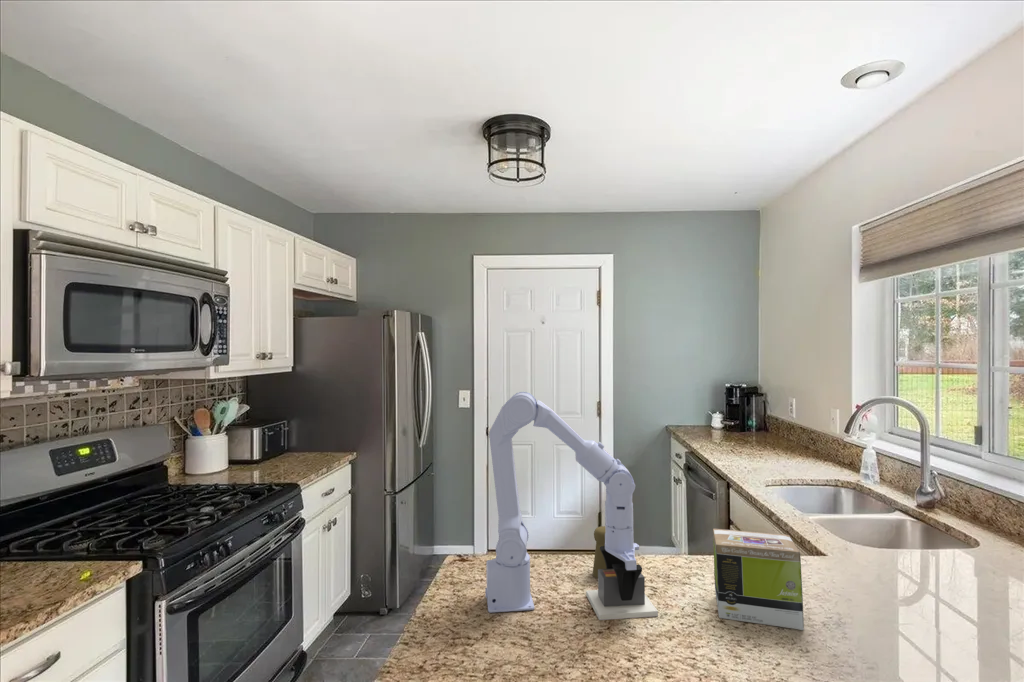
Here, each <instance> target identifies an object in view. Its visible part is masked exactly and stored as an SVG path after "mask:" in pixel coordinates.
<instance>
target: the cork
mask: <svg viewBox="0 0 1024 682" xmlns="http://www.w3.org/2000/svg"><path fill="white" fill-rule="evenodd" d="M593 539H594V540H595V551H594V559H593V560H594V561H593V567H592V576H593V578H595V579H597V580H598V569H607V568H606V564H605V560H604V557H603V555H602V553H601V551H600V547H601V546H605V525H603V526H601V525H600V526H598V527H596V528H595V529H594V532H593Z"/></svg>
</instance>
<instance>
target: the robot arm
mask: <svg viewBox="0 0 1024 682" xmlns="http://www.w3.org/2000/svg"><path fill="white" fill-rule="evenodd" d="M531 422H533V427H536V428H544V429H548V430H549V431H550V432H551V433H552V434H554V435H555V436H556V437H557V438H558V439H559V440H561V441H562V442H563V443H564V444H566V446H568V447H569V448H570V449H571V450H573V451H574V452H575V461H576V462H577V463H578V464H579V465H580V466H581V467H582V468H584V469H585V470H586V471H587V472H588V473H589V475H591V476H592V477H593V478H595V479H596V480H597V481H598V482H602V483H603V485H604V486H605V501H604V510H605V511H604V515H605V516H604V519H605V525H604V526H605V546H601V547H600V551H601V553H602V555H603V557H604V560H605V564H606V568H607V569H614V571H615V573H616V576H617V580H618V586H619V593H620V597H621V600H622V601H627V600H632V598H633V593H634V589H635V585H636V582H637V579H638V577H639V575H640V574H641V573H643V567H642V565H640V564H637V563H638V562H637V559H636V555H635V553H636V551H638V550H640V545H639V544H638V543H636V542H634V540H635V539H634V538H635V537H634V503H633V493H635V489H636V483H635V481H634V477H633V476H632V474H631V472H630V471H629V469H628V468H626V466H625V465H624V464H623V463H622V461H621V460H620V459H619V458H616V459H615V457H614V456H613V455H611V454H610V453H608V452H607V451H606V450H605V445H604V444H603V443H602V442H601V441H598V442H596V441H595V440H594V439H584V438H583V437H581V436H580V434H578V432H577V431H575V430H574V429H573V428H572V427H571V426H570V425H569V424H568V423H567V422H566V421H565V420H564V419H563V418H562V417H560V415H558V413H556V411H554V410H553V409H552V408H551V407H549V406H548V405H546V404H545V403H544V402H543V401H541V400H540V399H536V397H535V396H534V395H533V394H532V393H530V392H527V391H519V392H516V393H515V394H513V395H512V396H511V397H510V398H509V399H508V400H507V401H506V402H505V403H504V404H503V406H501V408H500V410H499V412H498V415H497V416H496V418H495V419H494V422H493V424H492V425H491V427H490V429H489V431H488V432H489V433H488V435H489V436H488V437H489V445H490V446H489V447H490V453H491V455H490V456H491V461H492V462H491V463H492V473H493V479H494V486H495V487H494V489H495V498H496V505H497V507H496V508H497V514H498V523H497V525H498V526H497V527H498V529H497V532H498V540H497V542H496V543H497V544H496V547H495V555H496V556H495V558H493V559H488V560H486V565H485V566H486V567H485V569H486V573H485V574H486V576H485V577H486V587H485V589H484V590H485V598H486V602H487V612H488V613H490V614H491V613H501V612H502V613H503V612H504V613H506V612H519V611H520V612H521V611H533V610H535V603H534V601H533V597H532V593H531V561H530V560H531V555H530V554H529V553H528V552H527V551H528V549H527V544H528V540H529V530H528V528H527V526H526V525H525V524H524V521H523V514H522V512H521V505H520V498H519V487H518V482H517V481H518V480H517V472H516V465H515V464H516V463H515V455H514V448H513V440H512V439H513V437H515V435H516V434H517V433H518V432H519V430H521V429H522V428H524V427H526V426H527V425H529V424H530V423H531Z"/></svg>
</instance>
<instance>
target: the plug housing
mask: <svg viewBox="0 0 1024 682" xmlns="http://www.w3.org/2000/svg"><path fill="white" fill-rule="evenodd" d="M645 582H646V581H645V576H644V575H643V572H641V574H640V575H639V577H638V579H637V582H636V585H635V589H634V593H633V598H632V600H627V601H622V600H621V597H620V593H619V586H618V580H617V576H616V573H615V571H614V569H598V579H597V590H598V596H599V598H600V600H601V602H602V604H603V606H625V605H645V595H646V593H645V592H646V591H645V590H646V589H645V587H646V584H645Z"/></svg>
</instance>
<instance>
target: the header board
mask: <svg viewBox="0 0 1024 682" xmlns="http://www.w3.org/2000/svg"><path fill="white" fill-rule="evenodd" d="M585 592H586V593H585V595H586V597H587V599H588V601H589V604H590V605H591V607H592V608H593V611H594V613H595V615H596V617H597V620H599V621H605V620H609V621H610V620H618V619H619V620H620V619H634V618H637V619H639V618H651V617H653V618H654V617H658V616H659V611H658V609H657V608H656V606H655V605H654V604H653V603H652V601H651V600H650V599H649V597H648V596H647V595H646V594H645V605H625V606H603V604H602V602H601V600H600V598H599V596H598V589H591V590H590V589H588V590H585Z"/></svg>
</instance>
